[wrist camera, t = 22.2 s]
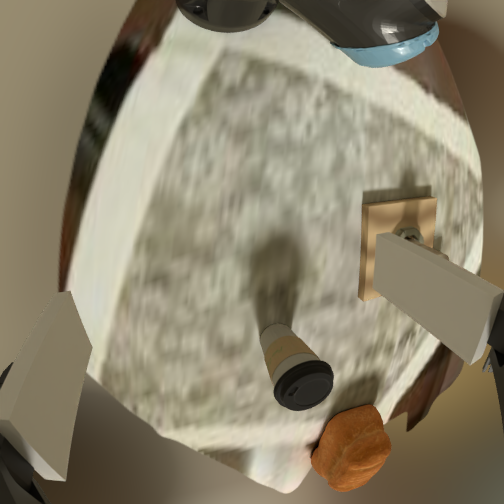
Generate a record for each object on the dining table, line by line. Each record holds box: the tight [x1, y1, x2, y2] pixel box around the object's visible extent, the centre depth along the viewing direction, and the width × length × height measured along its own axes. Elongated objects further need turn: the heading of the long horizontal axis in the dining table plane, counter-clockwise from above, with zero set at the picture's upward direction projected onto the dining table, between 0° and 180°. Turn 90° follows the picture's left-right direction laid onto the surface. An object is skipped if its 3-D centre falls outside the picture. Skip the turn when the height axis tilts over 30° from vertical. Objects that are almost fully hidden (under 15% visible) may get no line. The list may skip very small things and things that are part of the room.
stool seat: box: [358, 196, 437, 302], centre depth 52 cm, size 18×18×4 cm
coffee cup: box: [260, 324, 334, 411], centre depth 46 cm, size 9×9×15 cm
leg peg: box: [404, 237, 449, 261], centre depth 47 cm, size 4×4×10 cm
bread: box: [311, 404, 391, 492], centre depth 65 cm, size 16×26×17 cm, turn 173°
